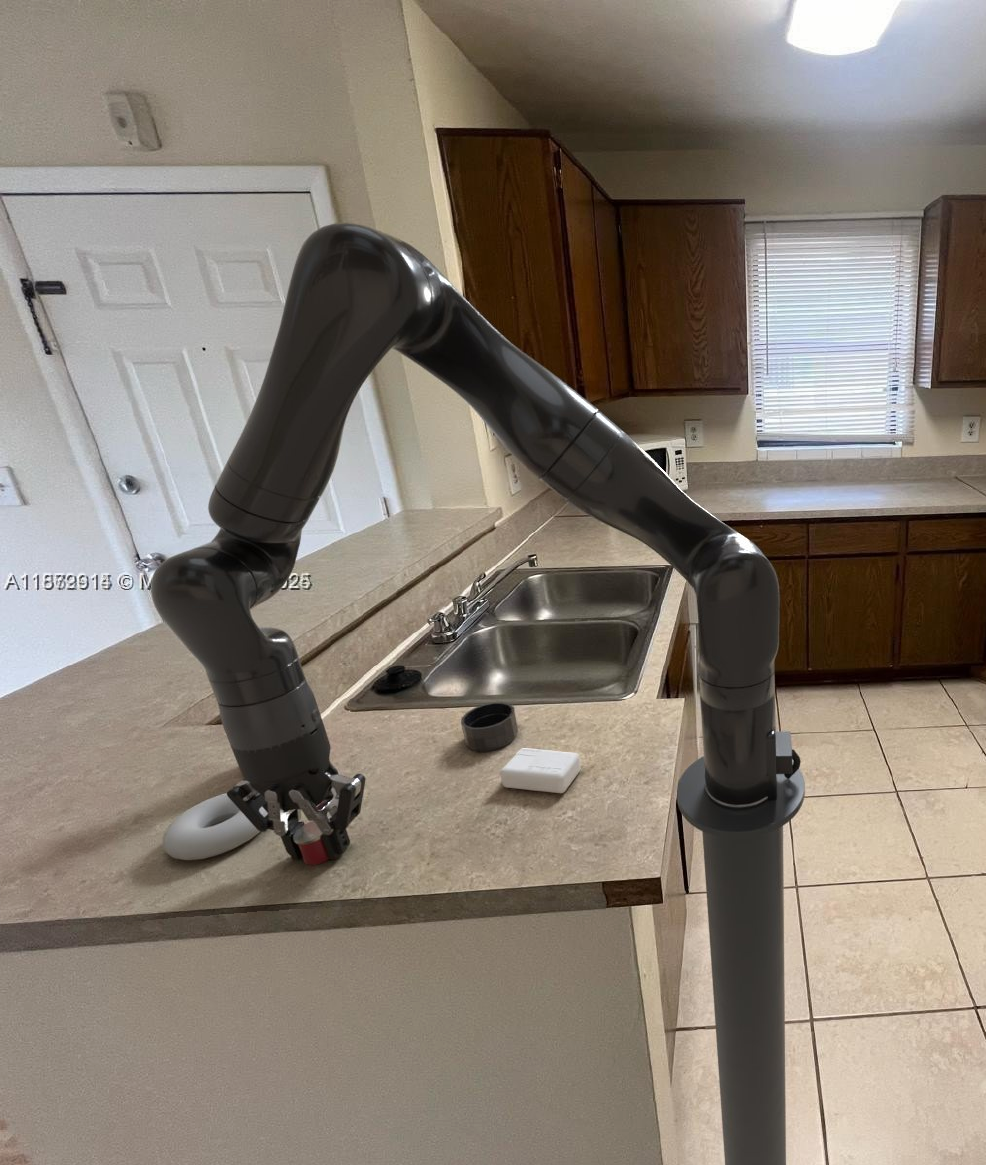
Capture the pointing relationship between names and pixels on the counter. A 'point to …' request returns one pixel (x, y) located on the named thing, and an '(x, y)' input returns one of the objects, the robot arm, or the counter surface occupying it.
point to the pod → (311, 844)
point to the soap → (541, 770)
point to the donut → (208, 830)
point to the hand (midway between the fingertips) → (321, 853)
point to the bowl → (489, 726)
